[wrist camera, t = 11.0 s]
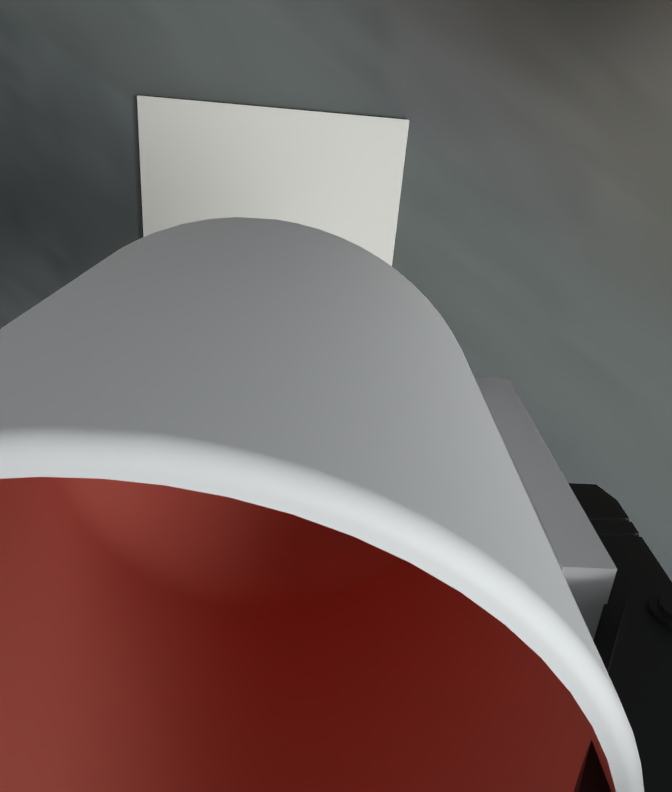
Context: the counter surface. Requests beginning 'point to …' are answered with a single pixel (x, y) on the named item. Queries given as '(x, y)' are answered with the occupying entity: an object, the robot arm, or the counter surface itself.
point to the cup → (274, 540)
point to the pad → (271, 168)
